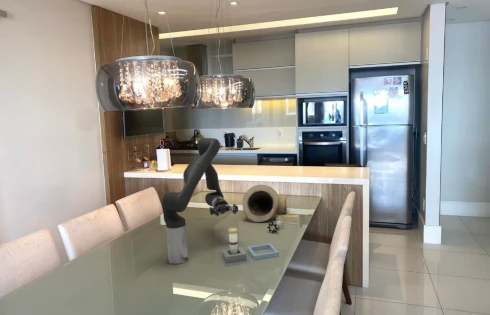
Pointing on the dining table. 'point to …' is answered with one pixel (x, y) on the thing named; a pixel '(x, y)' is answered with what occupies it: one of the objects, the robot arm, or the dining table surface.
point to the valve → (276, 225)
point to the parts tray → (264, 255)
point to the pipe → (263, 203)
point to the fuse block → (234, 257)
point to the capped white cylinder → (233, 240)
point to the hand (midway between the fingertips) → (226, 213)
